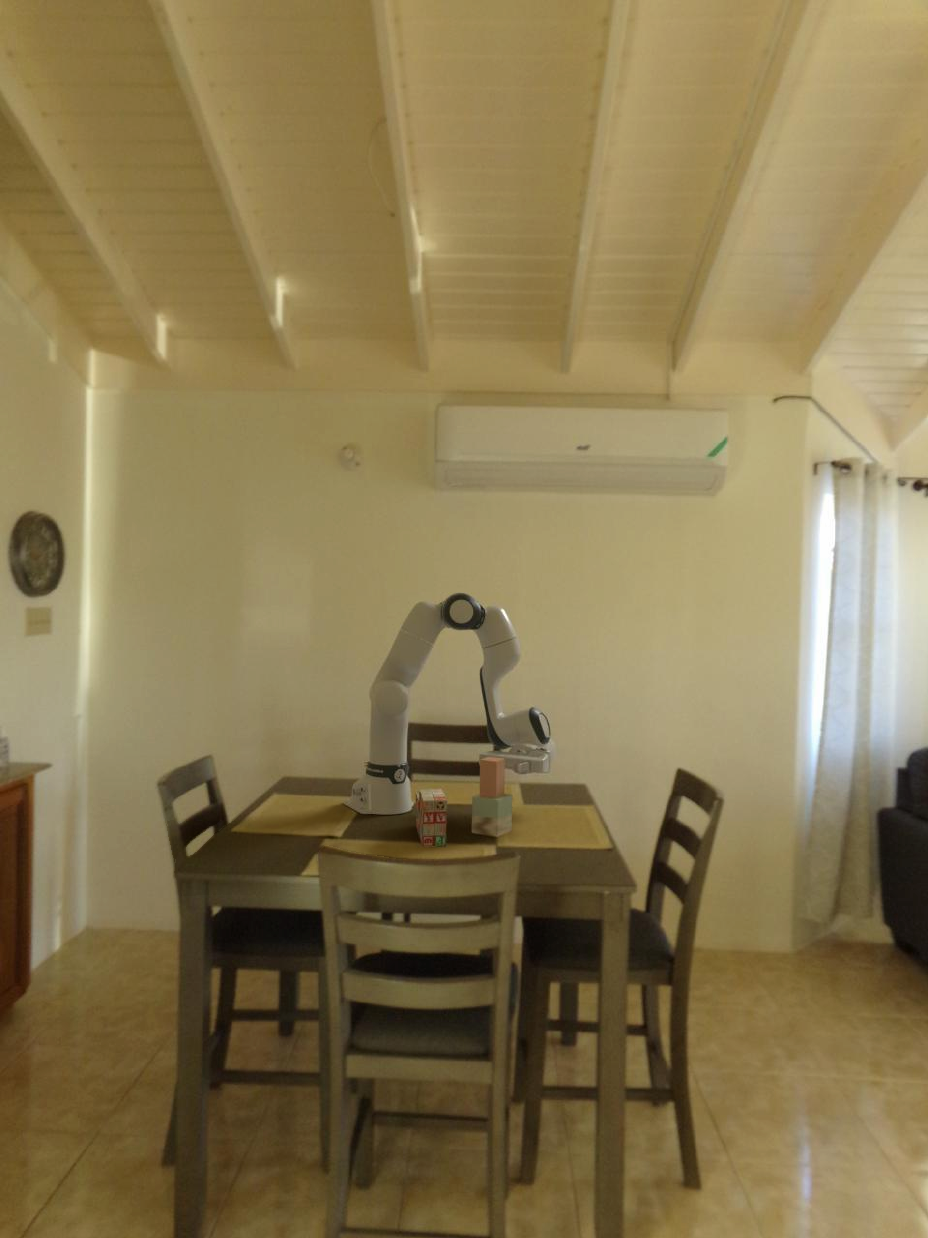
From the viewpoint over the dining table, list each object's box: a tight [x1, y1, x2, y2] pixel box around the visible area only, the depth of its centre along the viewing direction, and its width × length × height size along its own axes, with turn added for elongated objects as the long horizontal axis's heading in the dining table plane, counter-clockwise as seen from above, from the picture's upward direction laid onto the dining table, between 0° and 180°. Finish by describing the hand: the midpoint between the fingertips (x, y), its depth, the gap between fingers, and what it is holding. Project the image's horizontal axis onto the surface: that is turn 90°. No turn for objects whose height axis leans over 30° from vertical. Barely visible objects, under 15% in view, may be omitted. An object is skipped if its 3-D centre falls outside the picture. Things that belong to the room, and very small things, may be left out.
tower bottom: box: [471, 812, 513, 838], centre depth 255 cm, size 8×8×5 cm
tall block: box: [479, 757, 506, 799], centre depth 254 cm, size 5×5×10 cm
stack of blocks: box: [415, 788, 448, 847], centre depth 250 cm, size 21×6×12 cm, turn 8°
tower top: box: [471, 793, 513, 819], centre depth 255 cm, size 8×8×5 cm
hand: (501, 766), depth 259 cm, fingers open, 8 cm apart
